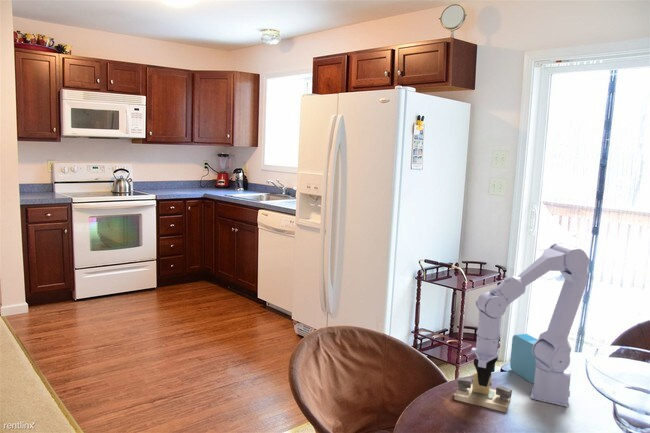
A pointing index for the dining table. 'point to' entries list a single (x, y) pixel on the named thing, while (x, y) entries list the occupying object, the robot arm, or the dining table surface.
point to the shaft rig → (483, 395)
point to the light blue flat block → (523, 356)
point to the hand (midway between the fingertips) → (483, 382)
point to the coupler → (479, 388)
